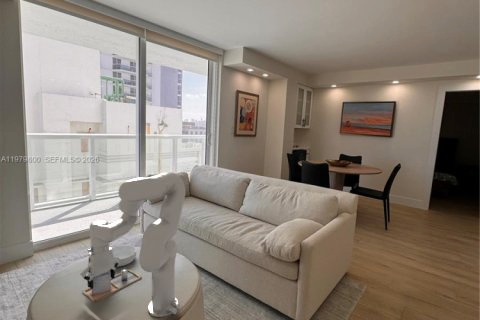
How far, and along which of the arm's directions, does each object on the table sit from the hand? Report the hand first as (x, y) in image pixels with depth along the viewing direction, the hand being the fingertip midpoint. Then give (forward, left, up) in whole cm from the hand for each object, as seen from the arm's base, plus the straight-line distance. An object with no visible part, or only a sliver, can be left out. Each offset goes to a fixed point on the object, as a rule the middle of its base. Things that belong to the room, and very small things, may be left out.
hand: (101, 282), depth 117 cm
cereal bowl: (+18, -19, -6) cm, 27 cm away
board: (0, -5, -6) cm, 8 cm away
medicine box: (+1, 0, -5) cm, 5 cm away
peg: (0, -11, -4) cm, 12 cm away
